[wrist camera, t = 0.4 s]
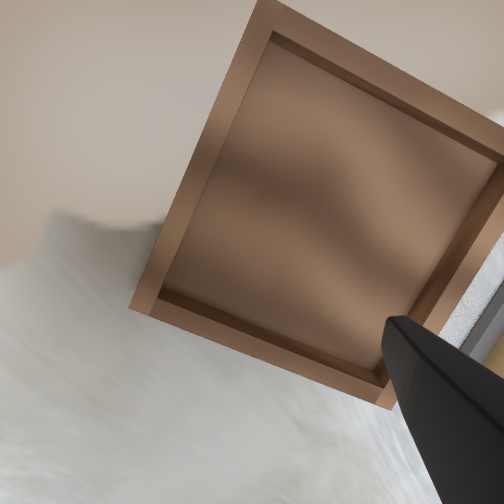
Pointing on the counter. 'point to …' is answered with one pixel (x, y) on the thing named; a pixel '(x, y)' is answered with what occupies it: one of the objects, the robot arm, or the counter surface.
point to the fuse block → (489, 336)
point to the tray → (325, 207)
